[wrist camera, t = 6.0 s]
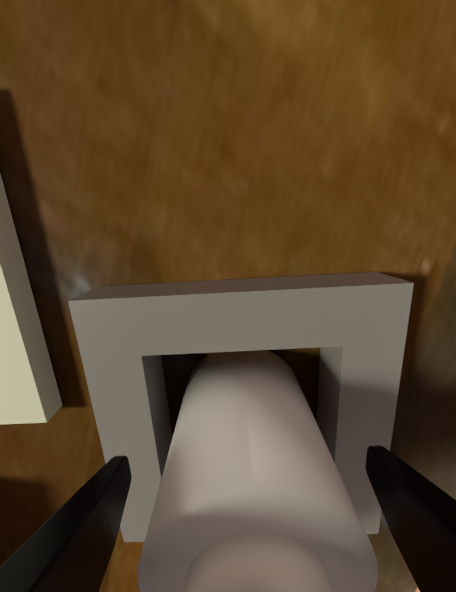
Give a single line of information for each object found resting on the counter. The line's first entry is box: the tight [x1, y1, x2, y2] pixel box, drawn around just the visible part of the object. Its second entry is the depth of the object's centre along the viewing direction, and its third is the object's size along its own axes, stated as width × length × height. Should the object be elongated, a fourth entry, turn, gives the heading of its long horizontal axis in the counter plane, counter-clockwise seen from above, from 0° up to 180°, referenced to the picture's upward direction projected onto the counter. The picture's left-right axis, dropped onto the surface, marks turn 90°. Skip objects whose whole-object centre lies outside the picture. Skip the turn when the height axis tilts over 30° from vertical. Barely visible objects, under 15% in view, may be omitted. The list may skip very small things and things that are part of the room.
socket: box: [68, 272, 414, 542], centre depth 10 cm, size 11×11×2 cm
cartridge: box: [137, 350, 378, 592], centre depth 8 cm, size 5×5×7 cm
